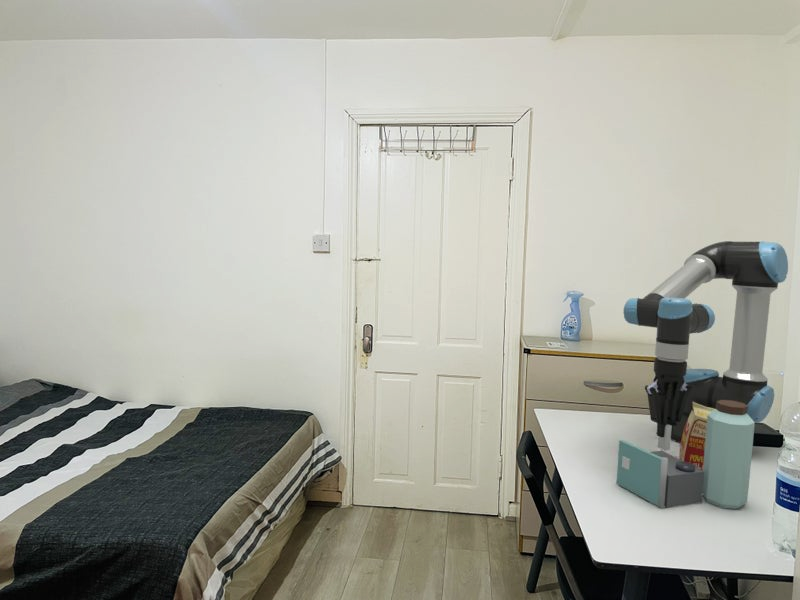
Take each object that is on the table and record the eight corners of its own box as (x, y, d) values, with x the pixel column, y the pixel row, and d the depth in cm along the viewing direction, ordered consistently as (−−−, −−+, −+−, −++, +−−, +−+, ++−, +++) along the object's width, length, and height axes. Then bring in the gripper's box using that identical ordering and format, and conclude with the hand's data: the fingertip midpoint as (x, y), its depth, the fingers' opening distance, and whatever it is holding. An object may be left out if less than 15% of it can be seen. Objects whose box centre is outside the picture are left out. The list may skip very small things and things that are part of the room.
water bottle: (746, 514, 133) (756, 412, 130) (699, 503, 138) (707, 405, 135) (746, 498, 141) (756, 402, 138) (702, 488, 146) (710, 395, 144)
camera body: (659, 478, 152) (662, 447, 151) (701, 502, 138) (704, 467, 137) (626, 483, 149) (628, 450, 148) (665, 507, 135) (668, 472, 134)
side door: (665, 507, 135) (669, 459, 134) (660, 508, 134) (664, 459, 133) (620, 482, 148) (623, 438, 147) (615, 483, 148) (618, 439, 146)
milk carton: (681, 476, 154) (687, 405, 152) (677, 463, 163) (682, 396, 160) (718, 481, 151) (725, 409, 149) (712, 468, 159) (718, 400, 157)
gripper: (680, 355, 147) (672, 441, 150) (639, 356, 143) (632, 445, 146) (703, 361, 140) (695, 451, 143) (660, 362, 136) (653, 456, 139)
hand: (663, 448), depth 144 cm, fingers closed
